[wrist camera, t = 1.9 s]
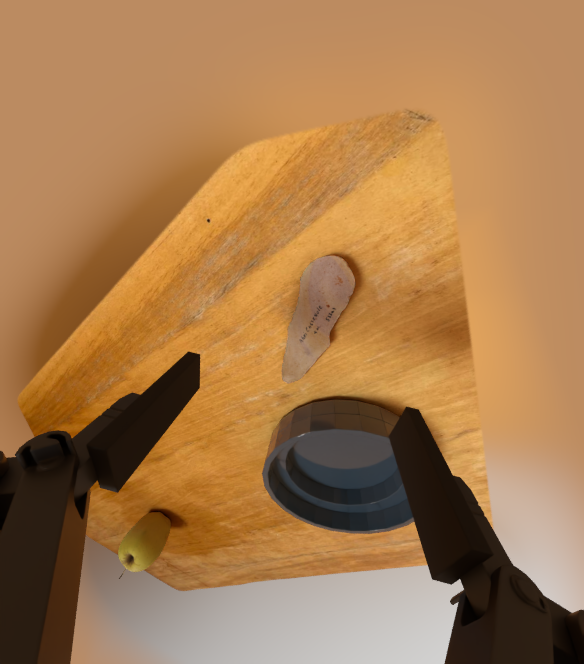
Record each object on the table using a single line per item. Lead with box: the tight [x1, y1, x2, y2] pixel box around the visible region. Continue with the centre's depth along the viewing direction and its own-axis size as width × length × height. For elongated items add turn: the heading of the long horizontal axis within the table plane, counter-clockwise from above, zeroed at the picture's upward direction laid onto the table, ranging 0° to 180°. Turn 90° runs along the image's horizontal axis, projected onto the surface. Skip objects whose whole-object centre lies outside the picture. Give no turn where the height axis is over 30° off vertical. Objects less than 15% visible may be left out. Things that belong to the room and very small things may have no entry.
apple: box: [118, 512, 171, 579], centre depth 44 cm, size 8×8×10 cm
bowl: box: [262, 399, 414, 534], centre depth 29 cm, size 20×20×5 cm
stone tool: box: [282, 255, 355, 383], centre depth 23 cm, size 5×2×15 cm
